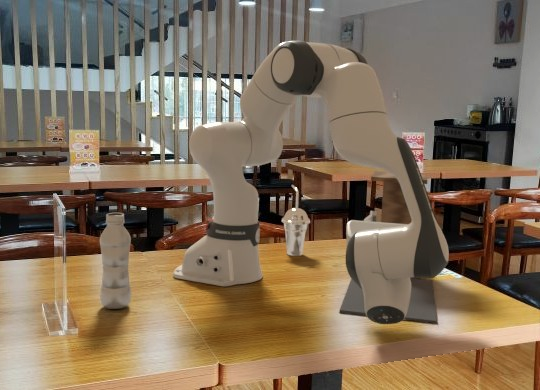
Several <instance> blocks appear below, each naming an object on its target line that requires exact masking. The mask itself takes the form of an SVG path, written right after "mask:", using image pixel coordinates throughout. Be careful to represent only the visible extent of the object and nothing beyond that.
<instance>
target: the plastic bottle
mask: <svg viewBox="0 0 540 390" xmlns="http://www.w3.org/2000/svg"><path fill="white" fill-rule="evenodd" d="M105 219H106V220H105V224H106V227H105V228H104V230H103V231H102V233H101V234H100V236H99V246H100V247H99V248H100V253H101V260H102V261H101V263H102V279H101V280H102V281H101V288H100V292H99V293H100V294H99V298H100V303H101V304H102V306H103V307H104V308H106V309H112V310H117V309H119V310H120V309H124V308H126V307H128V306H129V304H130V303H131V299H132V296H133V295H132V294H133V293H132V287H131V284H130V274H129V263H130V261H129V260H130V250H131V249H130V248H131V243H132V241H131V240H132V238H131V235H130V233H129V231H128V230H127V229H126V227H125V226H124V224H125V214H124V213H123V212H110V213H106V215H105Z"/></svg>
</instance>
